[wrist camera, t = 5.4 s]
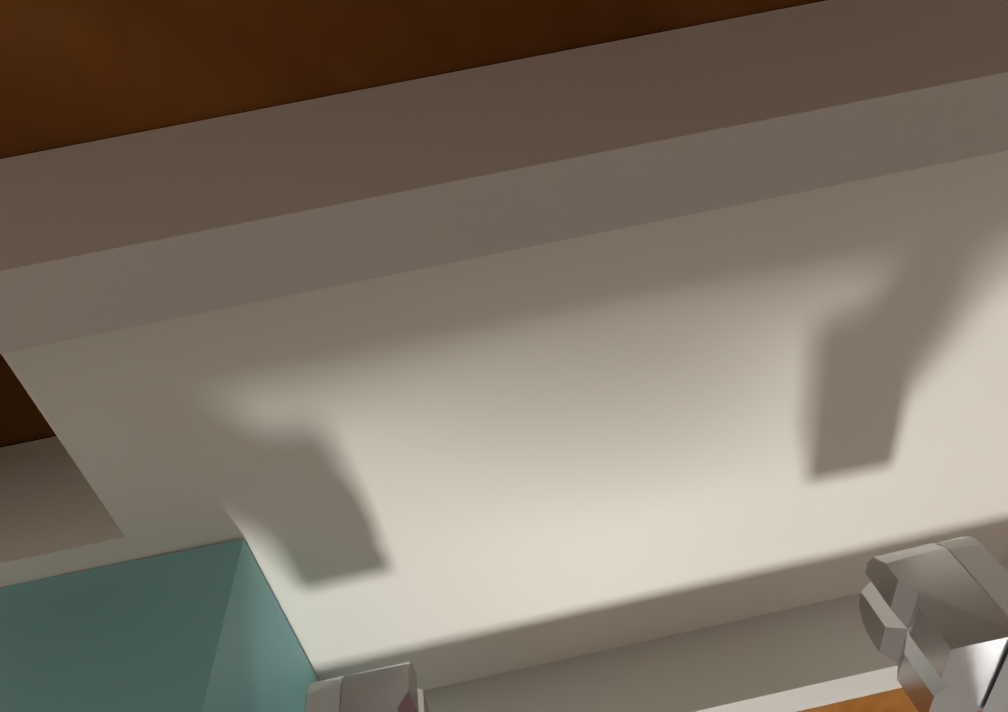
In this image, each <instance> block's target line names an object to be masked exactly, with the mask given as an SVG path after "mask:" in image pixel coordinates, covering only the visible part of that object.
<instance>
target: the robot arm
mask: <svg viewBox="0 0 1008 712" xmlns="http://www.w3.org/2000/svg"><path fill="white" fill-rule="evenodd" d="M865 573H866V575H867V576H868V578H869V579H870V580H871V582H870V583H869V584H868V585H867V586H866V587H865V588H864V589H863V590H862V591H861V595H860V601H859V609H860V613H861V617H862V622H863V624H864V627H865V629H866V631H867V633H868V635H869V637H870V639H871V640H872V642H873V643H874V645H875V647H876V648H877V650H878V651H879V652H880V653H881V654H883V655H885V656H886V657H888V658H890V659H891V660H893V661H895V662H896V663H898V671H897V680H898V681H899V683H900V684H901V686H902V687H903V689H904V690H905V692H906V693H907V695H908V696H909V698H910V699H911V701H912V702H913V704H914V705H915V707H916V708H917V710H918V711H919V712H975V711H979V710H983V711H982V712H1008V571H1007V570H1006V569H1005V568H1004V567H1003V566H1002V565H1001V564H1000V563H999V562H998V561H997V560H996V559H995V557H994V556H993V555H992V554H991V553H990V552H989V551H988V550H987V549H986V548H985V547H984V546H983V545H982V544H981V543H980V542H979V541H977V540H976V539H974V538H972V537H959V538H955V539H951V540H947V541H942V542H938V543H930V544H926V545H922V546H918V547H914V548H910V549H906V550H902V551H897V552H893V553H889V554H885V555H881V556H877V557H873V558H872V559H871V560H870V561H868V563H867V567H866V571H865ZM304 712H429V708H428V704H427V700H426V697H425V694H424V692H423V690H421V689H419V688H417V673H416V671H415V669H414V667H413V664H412V662H407V663H402V664H398V665H393V666H388V667H384V668H379V669H375V670H370V671H365V672H361V673H356V674H352V675H347V676H345V675H344V676H340V677H335V678H331V679H327V680H322V681H318V682H314V683H310V685H309V688H308V691H307V694H306V697H305V707H304Z"/></svg>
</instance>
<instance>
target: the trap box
mask: <svg viewBox="0 0 1008 712" xmlns="http://www.w3.org/2000/svg"><path fill="white" fill-rule="evenodd" d="M0 354H2V356H3V357H4V359H5V360H6V362H7V363H8V365H9V366H10V368H11V369H12V371H13V372H14V374H15V375H16V377H17V378H18V380H19V381H20V382H21V384H22V385H23V387H24V388H25V390H26V391H27V393H28V394H29V396H30V397H31V399H32V400H33V402H34V403H35V405H36V406H37V408H38V409H39V411H40V412H41V413H42V415H43V416H44V418H45V419H46V421H47V422H48V424H49V425H50V427H51V428H52V430H53V431H54V433H55V434H56V436H54V437H49V438H45V439H40V440H35V441H30V442H25V443H20V444H15V445H11V446H6V447H1V448H0V587H3V586H8V585H13V584H18V583H23V582H28V581H33V580H38V579H43V578H48V577H53V576H58V575H63V574H69V573H74V572H79V571H84V570H89V569H94V568H99V567H104V566H109V565H114V564H119V563H124V562H129V561H134V560H140V559H145V558H150V557H155V556H160V555H165V554H170V553H175V552H180V551H185V550H190V549H195V548H200V547H205V546H211V545H216V544H221V543H226V542H231V541H236V540H241V539H244V541H245V543H246V545H247V546H248V548H249V550H250V552H251V554H252V556H253V558H254V560H255V562H256V563H257V565H258V567H259V569H260V571H261V573H262V575H263V577H264V578H265V580H266V582H267V584H268V586H269V588H270V590H271V592H272V594H273V595H274V597H275V599H276V601H277V603H278V605H279V607H280V609H281V610H282V612H283V614H284V616H285V618H286V620H287V622H288V624H289V625H290V627H291V629H292V631H293V633H294V635H295V637H296V639H297V641H298V642H299V644H300V646H301V648H302V650H303V652H304V654H305V656H306V657H307V659H308V661H309V663H310V665H311V667H312V669H313V671H314V672H315V674H316V676H317V678H318V680H319V681H322V680H327V679H331V678H335V677H340V676H344V675H345V676H347V675H352V674H356V673H361V672H365V671H370V670H375V669H379V668H384V667H388V666H393V665H398V664H402V663H407V662H412V664H413V667H414V669H415V671H416V673H417V688H419V689H421V690H423V692H424V694H425V697H426V700H427V704H428V708H429V712H797V711H801V710H805V709H810V708H814V707H818V706H823V705H827V704H832V703H836V702H840V701H845V700H849V699H853V698H858V697H862V696H867V695H871V694H875V693H880V692H884V691H888V690H893V689H897V688H902V686H901V684H900V683H899V681H898V680H897V671H898V663H896V662H895V661H893V660H891V659H890V658H888V657H886V656H885V655H883V654H881V653H880V652H879V651H878V650H877V648H876V647H875V645H874V643H873V642H872V640H871V639H870V637H869V635H868V633H867V631H866V629H865V627H864V624H863V622H862V617H861V613H860V609H859V601H860V595H861V591H862V590H863V589H864V588H865V587H866V586H867V585H868V584H869V583H870V582H871V580H870V579H869V578H868V576H867V575H866V573H865V571H866V567H867V563H868V561H870V560H871V559H872V558H873V557H877V556H881V555H885V554H889V553H893V552H897V551H902V550H906V549H910V548H914V547H918V546H922V545H926V544H930V543H938V542H942V541H947V540H951V539H955V538H959V537H972V538H974V539H976V540H977V541H979V542H980V543H981V544H982V545H983V546H984V547H985V548H986V549H987V550H988V551H989V552H990V553H991V554H992V555H993V556H994V557H995V559H996V560H997V561H998V562H999V563H1000V564H1001V565H1002V566H1003V567H1004V568H1005V569H1006V570H1007V571H1008V0H826V1H821V2H816V3H810V4H805V5H800V6H795V7H790V8H784V9H779V10H774V11H769V12H764V13H758V14H753V15H748V16H743V17H738V18H732V19H727V20H722V21H717V22H711V23H706V24H701V25H696V26H691V27H685V28H680V29H675V30H670V31H665V32H659V33H654V34H649V35H644V36H639V37H633V38H628V39H623V40H618V41H613V42H607V43H602V44H597V45H592V46H587V47H581V48H576V49H571V50H566V51H560V52H555V53H550V54H545V55H540V56H534V57H529V58H524V59H519V60H514V61H508V62H503V63H498V64H493V65H488V66H482V67H477V68H472V69H467V70H462V71H456V72H451V73H446V74H441V75H436V76H430V77H425V78H420V79H415V80H410V81H404V82H399V83H394V84H389V85H383V86H378V87H373V88H368V89H363V90H357V91H352V92H347V93H342V94H337V95H331V96H326V97H321V98H316V99H311V100H305V101H300V102H295V103H290V104H285V105H279V106H274V107H269V108H264V109H259V110H253V111H248V112H243V113H238V114H233V115H227V116H222V117H217V118H212V119H206V120H201V121H196V122H191V123H186V124H180V125H175V126H170V127H165V128H160V129H154V130H149V131H144V132H139V133H134V134H128V135H123V136H118V137H113V138H108V139H102V140H97V141H92V142H87V143H82V144H76V145H71V146H66V147H61V148H55V149H50V150H45V151H40V152H35V153H29V154H24V155H19V156H14V157H9V158H3V159H0Z"/></svg>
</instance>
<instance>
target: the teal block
mask: <svg viewBox="0 0 1008 712" xmlns="http://www.w3.org/2000/svg"><path fill="white" fill-rule="evenodd" d="M318 681H319V680H318V678H317V676H316V674H315V672H314V671H313V669H312V667H311V665H310V663H309V661H308V659H307V657H306V656H305V654H304V652H303V650H302V648H301V646H300V644H299V642H298V641H297V639H296V637H295V635H294V633H293V631H292V629H291V627H290V625H289V624H288V622H287V620H286V618H285V616H284V614H283V612H282V610H281V609H280V607H279V605H278V603H277V601H276V599H275V597H274V595H273V594H272V592H271V590H270V588H269V586H268V584H267V582H266V580H265V578H264V577H263V575H262V573H261V571H260V569H259V567H258V565H257V563H256V562H255V560H254V558H253V556H252V554H251V552H250V550H249V548H248V546H247V545H246V543H245V541H244V539H241V540H236V541H231V542H226V543H221V544H216V545H211V546H205V547H200V548H195V549H190V550H185V551H180V552H175V553H170V554H165V555H160V556H155V557H150V558H145V559H140V560H134V561H129V562H124V563H119V564H114V565H109V566H104V567H99V568H94V569H89V570H84V571H79V572H74V573H69V574H63V575H58V576H53V577H48V578H43V579H38V580H33V581H28V582H23V583H18V584H13V585H8V586H3V587H0V712H304V707H305V697H306V694H307V691H308V688H309V685H310V683H314V682H318Z"/></svg>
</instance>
